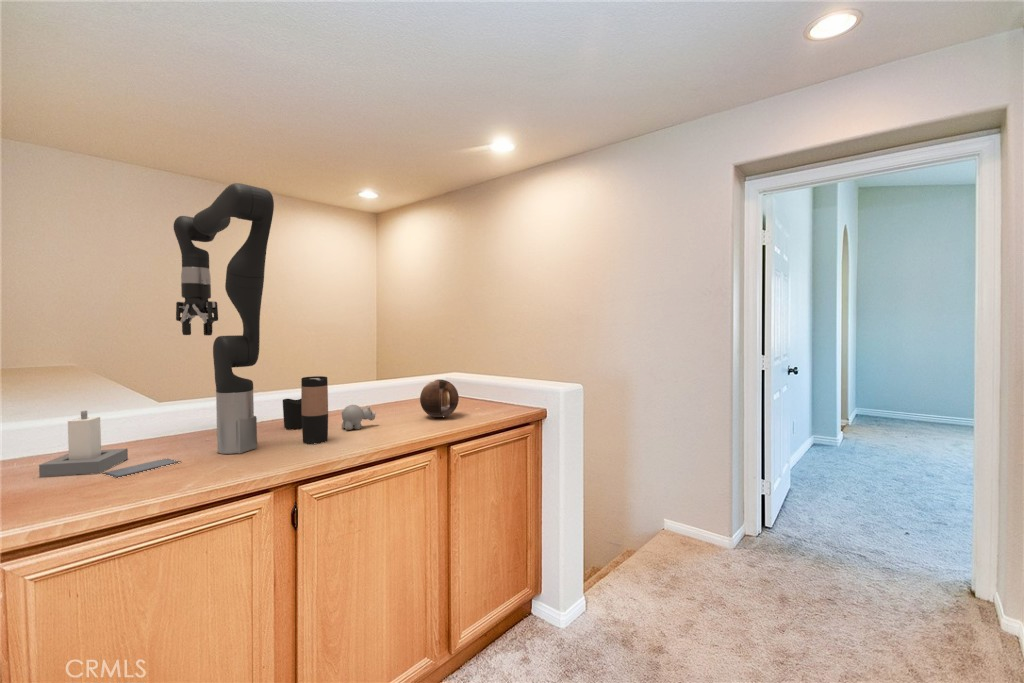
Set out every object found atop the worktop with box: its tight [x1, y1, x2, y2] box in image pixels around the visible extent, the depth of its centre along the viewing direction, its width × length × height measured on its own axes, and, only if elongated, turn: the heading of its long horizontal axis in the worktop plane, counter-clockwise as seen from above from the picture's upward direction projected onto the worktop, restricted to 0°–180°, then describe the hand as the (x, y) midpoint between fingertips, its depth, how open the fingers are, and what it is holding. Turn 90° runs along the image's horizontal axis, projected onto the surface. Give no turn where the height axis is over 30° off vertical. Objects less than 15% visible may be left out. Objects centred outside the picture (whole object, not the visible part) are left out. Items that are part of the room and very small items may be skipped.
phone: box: [101, 458, 182, 479], centre depth 116 cm, size 7×14×1 cm, turn 154°
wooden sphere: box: [419, 379, 460, 418], centre depth 180 cm, size 15×15×15 cm
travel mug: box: [300, 375, 329, 445], centre depth 142 cm, size 8×8×20 cm
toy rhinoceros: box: [341, 404, 377, 431], centre depth 161 cm, size 7×12×8 cm, turn 126°
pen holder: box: [282, 398, 302, 430], centre depth 163 cm, size 9×9×10 cm
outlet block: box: [38, 448, 129, 478], centre depth 116 cm, size 12×12×3 cm
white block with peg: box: [67, 410, 102, 460], centre depth 116 cm, size 4×4×14 cm
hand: (197, 335), depth 142 cm, fingers open, 8 cm apart
